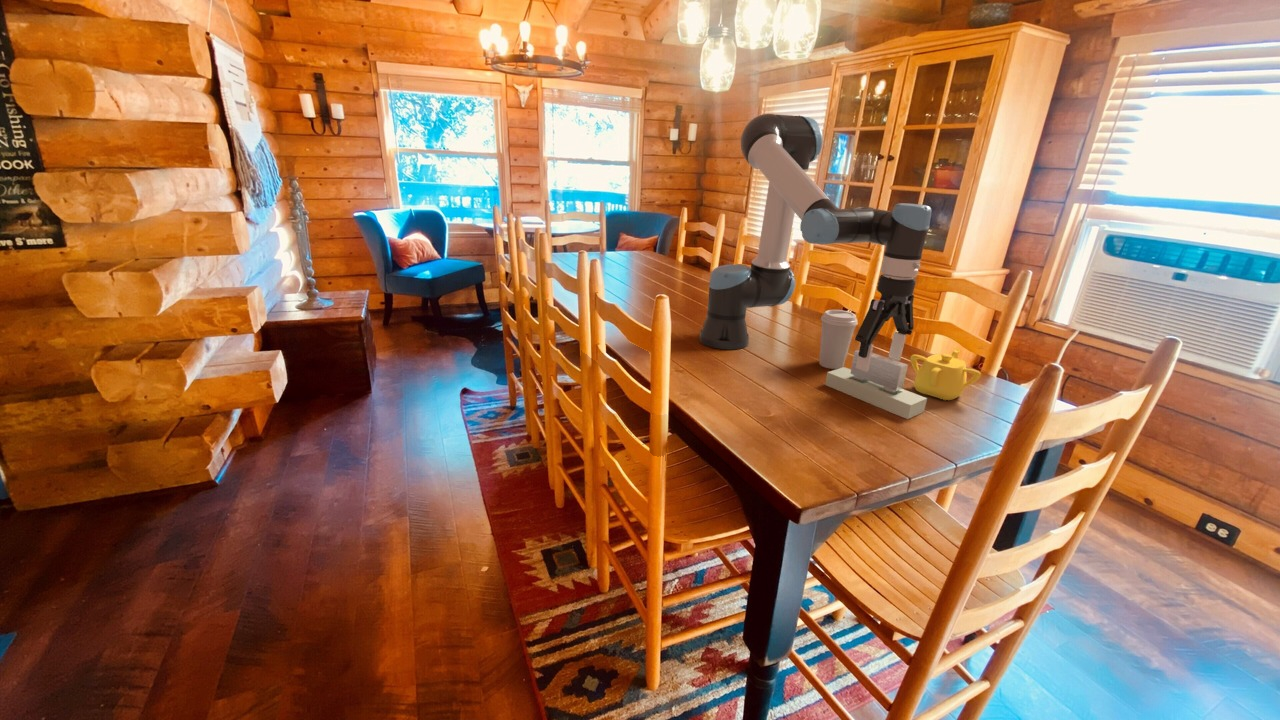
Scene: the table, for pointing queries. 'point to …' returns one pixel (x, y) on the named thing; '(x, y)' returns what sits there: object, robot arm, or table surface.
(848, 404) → the table surface
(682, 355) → the table surface
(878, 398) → the rail
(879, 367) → the grey piece
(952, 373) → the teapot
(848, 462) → the table surface
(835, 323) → the coffee cup
